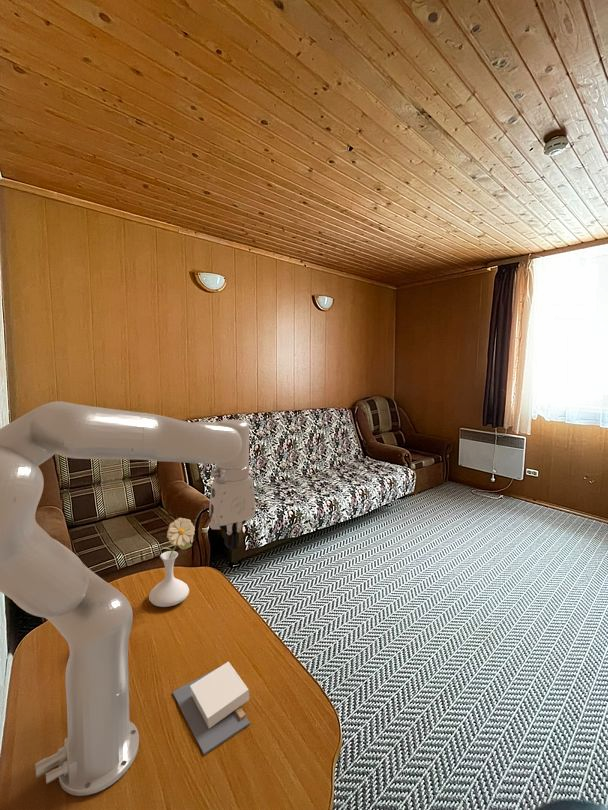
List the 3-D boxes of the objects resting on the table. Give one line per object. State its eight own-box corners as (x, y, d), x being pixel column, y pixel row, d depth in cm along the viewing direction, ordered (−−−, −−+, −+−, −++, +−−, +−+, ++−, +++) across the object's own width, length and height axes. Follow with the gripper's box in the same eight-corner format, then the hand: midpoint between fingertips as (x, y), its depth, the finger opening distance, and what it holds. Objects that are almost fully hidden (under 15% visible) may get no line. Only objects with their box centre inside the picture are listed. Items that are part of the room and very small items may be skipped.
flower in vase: (145, 613, 104) (144, 528, 101) (151, 589, 115) (151, 512, 112) (194, 607, 107) (194, 525, 105) (195, 584, 118) (195, 509, 116)
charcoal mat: (204, 755, 67) (204, 750, 67) (172, 693, 79) (172, 689, 79) (249, 724, 73) (250, 719, 73) (214, 671, 85) (214, 667, 85)
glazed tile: (249, 700, 77) (209, 729, 71) (229, 671, 84) (191, 696, 78) (248, 689, 76) (207, 718, 71) (228, 661, 83) (189, 685, 78)
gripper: (209, 482, 79) (209, 564, 81) (268, 471, 88) (266, 544, 90) (195, 473, 85) (195, 550, 87) (251, 464, 94) (250, 533, 96)
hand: (231, 547), depth 88 cm, fingers closed
